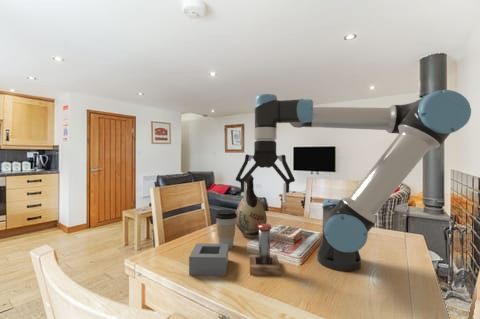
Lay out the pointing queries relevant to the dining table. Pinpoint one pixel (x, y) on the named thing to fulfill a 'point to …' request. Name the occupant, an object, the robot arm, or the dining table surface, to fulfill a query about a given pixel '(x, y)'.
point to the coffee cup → (226, 226)
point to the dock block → (209, 259)
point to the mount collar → (264, 266)
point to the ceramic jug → (250, 212)
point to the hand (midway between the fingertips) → (264, 201)
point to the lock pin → (264, 244)
